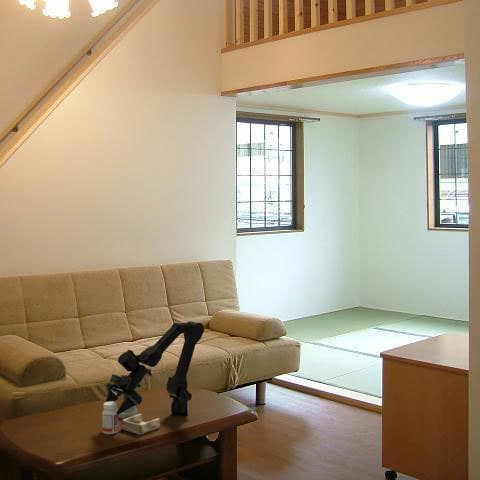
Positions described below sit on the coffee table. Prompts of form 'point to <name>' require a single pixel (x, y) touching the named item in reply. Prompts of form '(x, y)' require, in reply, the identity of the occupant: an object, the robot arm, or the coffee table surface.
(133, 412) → the wristwatch
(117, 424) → the pill bottle
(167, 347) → the robot arm
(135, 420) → the open tray
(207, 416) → the coffee table surface
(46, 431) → the coffee table surface
